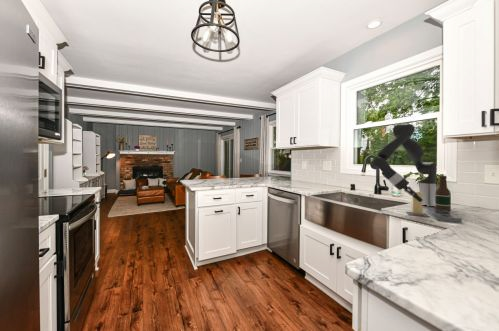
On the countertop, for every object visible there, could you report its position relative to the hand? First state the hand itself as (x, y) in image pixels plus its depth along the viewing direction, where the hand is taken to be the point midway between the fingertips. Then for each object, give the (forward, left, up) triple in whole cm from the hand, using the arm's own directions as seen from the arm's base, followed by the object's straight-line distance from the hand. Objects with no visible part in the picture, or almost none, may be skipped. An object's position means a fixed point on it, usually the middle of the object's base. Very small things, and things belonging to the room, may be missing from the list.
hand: (420, 200), depth 134 cm
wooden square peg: (0, -1, -9) cm, 9 cm away
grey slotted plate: (0, +11, -9) cm, 14 cm away
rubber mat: (0, -1, -9) cm, 9 cm away
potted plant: (-20, +16, -9) cm, 27 cm away
